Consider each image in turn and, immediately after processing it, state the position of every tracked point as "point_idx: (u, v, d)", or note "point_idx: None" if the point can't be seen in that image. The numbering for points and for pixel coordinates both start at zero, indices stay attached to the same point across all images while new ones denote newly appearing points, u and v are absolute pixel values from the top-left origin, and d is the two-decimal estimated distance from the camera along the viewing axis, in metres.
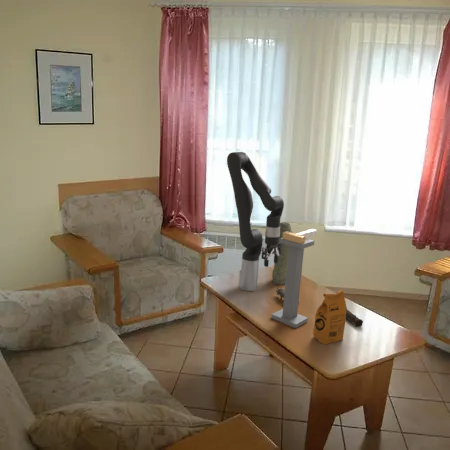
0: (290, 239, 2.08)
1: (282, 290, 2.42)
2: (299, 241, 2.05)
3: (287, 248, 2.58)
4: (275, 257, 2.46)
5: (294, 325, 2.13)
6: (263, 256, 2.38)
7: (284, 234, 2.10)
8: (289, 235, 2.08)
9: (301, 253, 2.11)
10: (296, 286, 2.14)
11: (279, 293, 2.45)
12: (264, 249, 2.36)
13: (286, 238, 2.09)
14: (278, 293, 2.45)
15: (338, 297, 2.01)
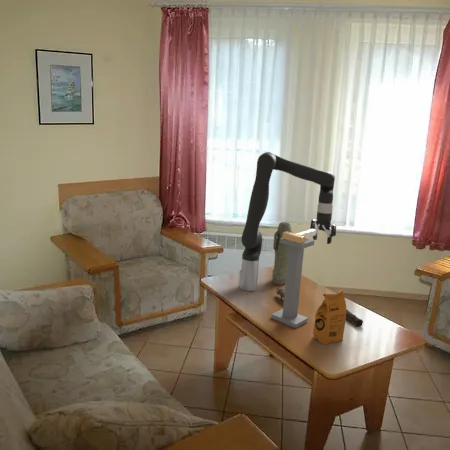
0: (290, 239, 2.08)
1: (282, 290, 2.42)
2: (299, 241, 2.05)
3: (287, 248, 2.58)
4: None
5: (294, 325, 2.13)
6: None
7: (284, 234, 2.10)
8: (289, 235, 2.08)
9: (301, 253, 2.11)
10: (296, 286, 2.14)
11: (279, 293, 2.45)
12: (335, 226, 2.32)
13: (286, 238, 2.09)
14: (278, 293, 2.45)
15: (338, 297, 2.01)
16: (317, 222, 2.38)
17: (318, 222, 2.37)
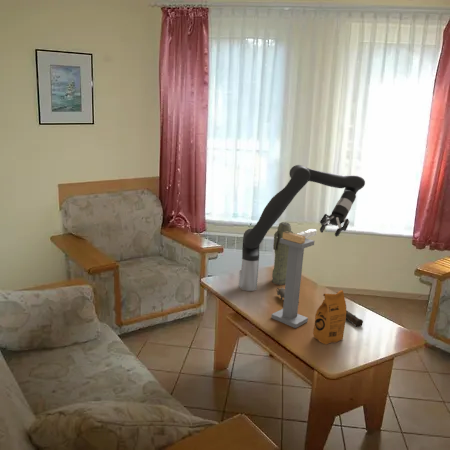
0: (290, 239, 2.08)
1: (282, 290, 2.42)
2: (299, 241, 2.05)
3: (287, 248, 2.58)
4: (324, 227, 2.39)
5: (294, 325, 2.13)
6: (343, 226, 2.33)
7: (284, 234, 2.10)
8: (289, 235, 2.08)
9: (301, 253, 2.11)
10: (296, 286, 2.14)
11: (279, 293, 2.45)
12: (348, 221, 2.34)
13: (286, 238, 2.09)
14: (278, 293, 2.45)
15: (338, 297, 2.01)
16: (331, 216, 2.40)
17: (332, 216, 2.39)
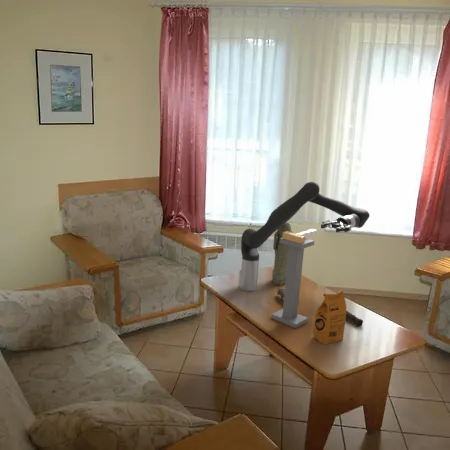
0: (290, 239, 2.08)
1: (282, 290, 2.42)
2: (299, 241, 2.05)
3: (287, 248, 2.58)
4: (325, 225, 2.37)
5: (294, 325, 2.13)
6: None
7: (284, 234, 2.10)
8: (289, 235, 2.08)
9: (301, 253, 2.11)
10: (296, 286, 2.14)
11: (280, 293, 2.45)
12: (350, 228, 2.35)
13: (286, 238, 2.09)
14: (279, 293, 2.45)
15: (338, 297, 2.01)
16: None
17: None
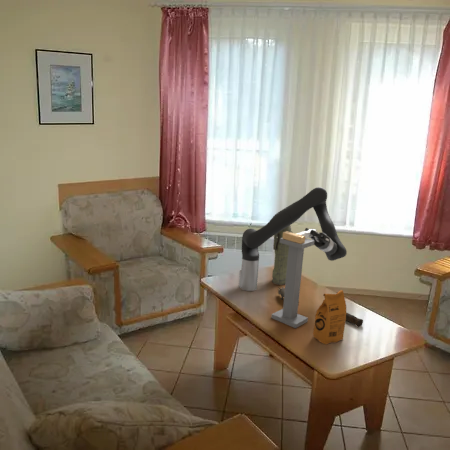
0: (290, 239, 2.08)
1: (283, 290, 2.42)
2: (299, 241, 2.05)
3: (287, 248, 2.58)
4: None
5: (294, 325, 2.13)
6: (320, 234, 2.19)
7: (284, 234, 2.10)
8: (289, 235, 2.08)
9: (301, 253, 2.11)
10: (296, 286, 2.14)
11: (280, 293, 2.46)
12: (327, 240, 2.19)
13: (286, 238, 2.09)
14: (279, 293, 2.46)
15: (338, 297, 2.01)
16: None
17: None
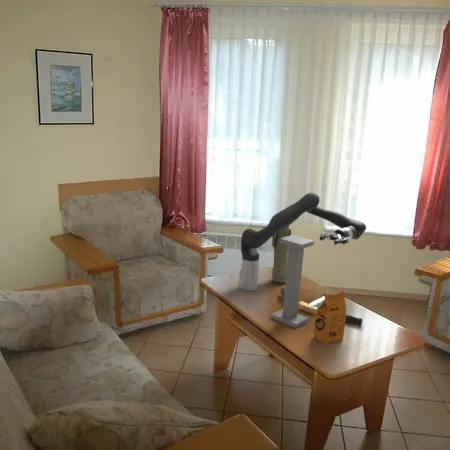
0: (304, 309, 2.31)
1: (284, 289, 2.43)
2: (313, 312, 2.28)
3: None
4: (324, 237, 2.45)
5: (294, 325, 2.13)
6: None
7: (299, 304, 2.33)
8: (303, 306, 2.31)
9: (301, 253, 2.11)
10: (296, 286, 2.14)
11: None
12: (348, 240, 2.43)
13: (301, 308, 2.33)
14: (281, 292, 2.46)
15: (338, 297, 2.01)
16: (332, 234, 2.49)
17: None
